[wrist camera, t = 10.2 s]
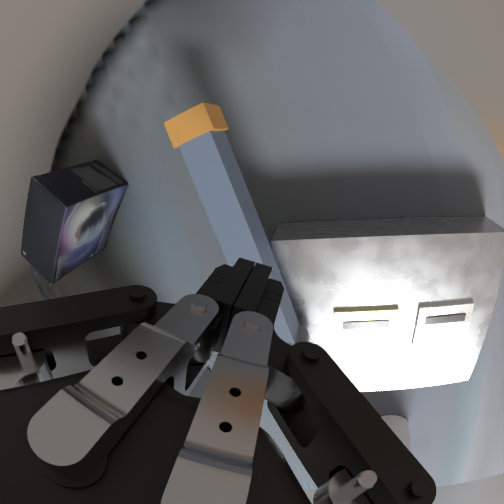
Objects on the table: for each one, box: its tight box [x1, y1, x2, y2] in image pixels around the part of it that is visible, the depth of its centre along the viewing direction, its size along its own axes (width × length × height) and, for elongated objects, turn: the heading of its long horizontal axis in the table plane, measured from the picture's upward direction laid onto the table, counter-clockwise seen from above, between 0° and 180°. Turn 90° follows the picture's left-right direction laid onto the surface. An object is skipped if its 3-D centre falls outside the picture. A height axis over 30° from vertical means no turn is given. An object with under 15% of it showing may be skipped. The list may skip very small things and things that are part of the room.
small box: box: [21, 160, 128, 285], centre depth 29 cm, size 11×6×10 cm, turn 147°
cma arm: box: [164, 102, 310, 345], centre depth 23 cm, size 22×4×3 cm, turn 22°
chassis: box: [271, 216, 504, 392], centre depth 27 cm, size 22×18×6 cm
